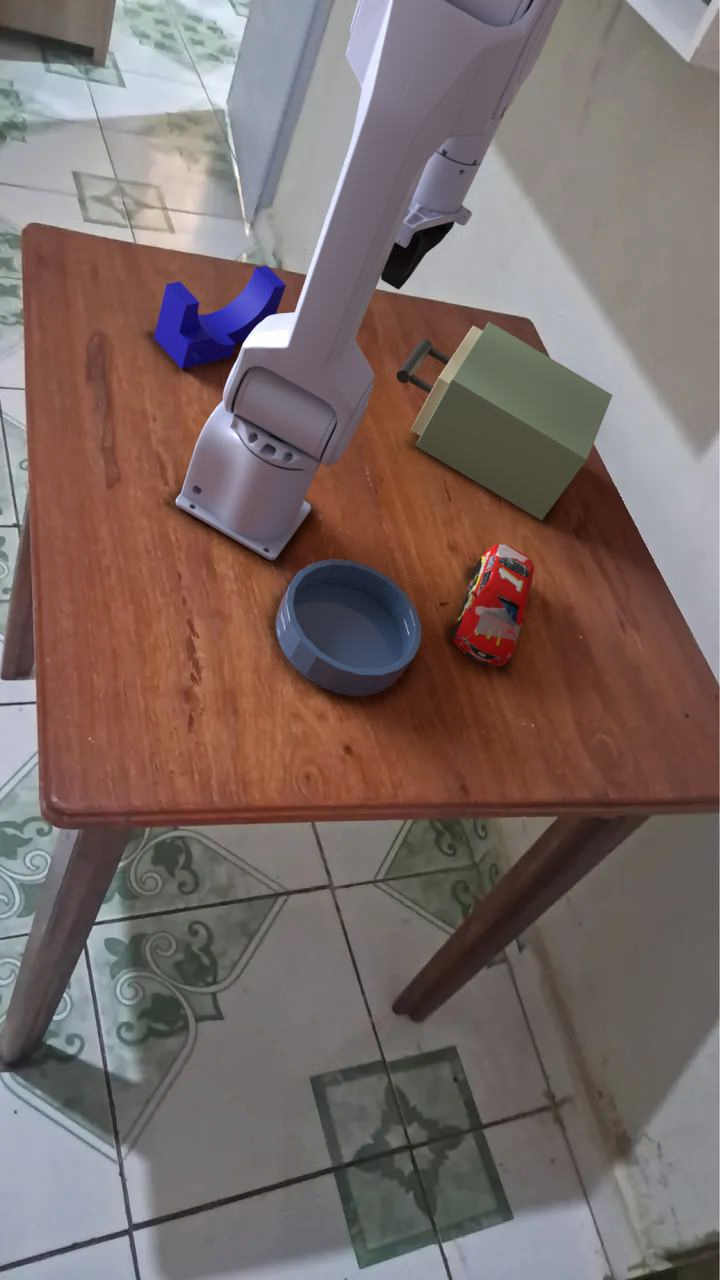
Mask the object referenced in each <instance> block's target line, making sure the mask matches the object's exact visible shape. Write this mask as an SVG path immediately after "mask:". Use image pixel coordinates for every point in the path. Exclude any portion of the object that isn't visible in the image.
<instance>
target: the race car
mask: <svg viewBox="0 0 720 1280" xmlns="http://www.w3.org/2000/svg"><path fill="white" fill-rule="evenodd" d="M534 571H535V566H534V563H533V561H532V560H531V558H530V557H529V556H528V555H526V554H525V553H523V552H522V551H519V550H517V549H515V548H513V547H512V546H509V545H507V544H504V543H496V544H494V545H492V546H491V547H490V548H488V549H487V550H486V551H485V552H484V554H483V555H482V556H481V557H480V559H479V560H478V562H477V564H476V566H475V567H474V570H473V572H472V575H471V579H470V582H469V585H468V587H467V591H466V595H465V597H464V599H463V603H462V606H461V609H460V612H459V615H458V618H457V624H456V625H455V628H454V629H453V632H452V636H451V637H452V639H453V642H454V643H455V645H456V647H457V648H458V649H459V650H460V652H461V653H462V654H463V655H465V656H466V657H467V658H469V659H470V660H471V661H473V662H475V663H477V664H479V665H482V666H486V667H491V668H494V667H501V666H504V665H505V664H506V663H507V662H508V661H509V660H510V659H511V657H512V656H513V654H514V652H515V649H516V647H517V642H518V641H517V640H518V637H519V635H520V632H521V627H522V624H523V623H527V622H529V619H528V618H527V617H525V612H526V608H527V606H528V605H527V604H528V600H529V597H530V592H531V589H532V586H533V579H534Z"/></svg>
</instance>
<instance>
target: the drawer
mask: <svg viewBox="0 0 720 1280" xmlns="http://www.w3.org/2000/svg"><path fill="white" fill-rule="evenodd" d="M482 332H483V330H482V329H480V328H479V327H477V326H475V325H472V327H471V328H470V329H469V331H468V333H467V334H466V336H465V337H464V338H463V340H462V341H461V343H460V344H459V346H458V347H457V348H456V351H455V352H454V353H453V355H452V357H449V356H447V354H444V353H442V352H440V351H439V350H437V349H436V348H434V347H433V343H432V341H431V340H430V339H427V338H423V339H421V340H420V341H419V342H418V344H417V345H416V346H415V348H414V349H413V350H412V352H411V353H410V354H409V356H408V357H407V359H406V360H405V361H404V363H403V364H402V365H401V367H400V368H399V369H398V371H397V372H396V379H397V381H398V382H399V383H401V384H407V383H411V384H412V385H413V386H416V387H417V388H419V389H421V390H422V391H424V392H425V393H427V394H428V396H427V398H426V400H425V402H424V404H423V406H422V408H421V410H420V412H419V413H418V415H417V417H416V419H415V420H414V423H413V425H412V427H410V431H411V432H413V433H414V434H416V435H418V436H420V437H421V435H422V433H423V431H424V429H425V427H426V426H427V424H428V422H429V420H430V418H431V417H432V415H433V413H434V411H435V409H436V407H437V406H438V404H439V402H440V400H441V398H442V396H443V395H444V393H445V391H446V389H447V387H448V385H449V384H450V382H451V380H452V378H453V377H454V375H455V374H456V372H457V370H458V369H459V367H460V366H461V364H462V363H463V361H464V360H465V358H466V357H467V355H468V353H469V352H470V350H471V349H472V347H473V346H474V344H475V343H476V341H477V339H478V338H479V336H480V335H481V333H482ZM428 355H429V356H430V357H432V358H434V359H436V360H437V361H438V362H440V363H442V364H444V365H446V366H445V367H444V368H443V370H442V371H441V372H440V375H439V376H438V377H437V380H436V381H435V383H434V385H432V384H430V383H428V382H426V381H425V380H423V379H421V378H419V377H418V376H416V375H414V374H415V373H416V372H417V370H418V369H419V368H420V366H421V365H422V363H424V361H425V359H426V358H427V356H428Z"/></svg>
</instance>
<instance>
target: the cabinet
mask: <svg viewBox="0 0 720 1280" xmlns="http://www.w3.org/2000/svg"><path fill="white" fill-rule="evenodd" d="M482 331H483V332H482V333H481V335H480V336H479V338H478V339H477V341H476V343H475V344H474V346H473V347H472V349H471V350H470V352H469V353H468V355H467V357H466V358H465V360H464V361H463V363H462V364H461V366H460V367H459V369H458V370H457V372H456V374H455V375H454V377H453V378H452V380H451V382H450V384H449V385H448V387H447V389H446V391H445V393H444V395H443V396H442V398H441V400H440V402H439V404H438V406H437V407H436V409H435V411H434V413H433V415H432V417H431V418H430V420H429V422H428V424H427V426H426V427H425V429H424V431H423V433H422V435H421V436H420V437H418V441H417V442H416V443H415V447H416V448H417V449H420V450H421V451H423V452H425V453H426V454H428V455H430V456H432V457H433V458H435V459H437V460H438V461H439V462H441V463H443V464H444V465H447V466H448V467H450V468H452V469H453V470H455V471H457V472H459V473H460V474H461V475H463V476H465V477H467V478H469V479H470V480H471V481H473V482H475V483H477V484H479V485H480V486H482V487H484V488H486V489H487V490H489V491H491V493H492V492H493V494H496V495H498V496H499V497H501V498H503V499H504V500H506V501H508V502H509V503H511V504H513V505H514V506H515V507H518V508H520V509H521V510H523V511H524V512H526V513H528V514H530V515H531V516H533V517H534V518H536V519H539V520H540V521H543V520H544V519H545V517H546V516H547V514H548V513H549V512H550V510H551V509H552V508H553V507H554V505H555V504H556V502H557V501H558V500H559V498H560V497H561V496H562V494H563V493H564V491H566V489H567V487H568V486H569V485H570V483H572V481H573V479H574V478H575V476H577V474H578V473H579V471H580V470H581V468H582V467H583V466H584V465H585V464H586V462H587V461H588V458H589V456H590V453H591V451H592V448H593V445H594V443H595V441H596V438H597V436H598V434H599V430H600V428H601V426H602V424H603V421H604V418H605V415H606V412H607V410H608V408H609V405H610V403H611V400H612V398H613V394H611V393H610V392H608V391H606V390H605V389H603V388H602V387H600V386H599V385H596V384H595V383H593V382H592V381H590V380H588V379H587V378H585V377H584V376H581V375H579V374H578V373H577V372H575V371H573V370H572V369H570V368H568V367H566V366H565V365H563V364H562V363H560V362H558V361H556V360H555V359H553V358H551V357H550V356H548V355H546V354H544V353H543V352H541V351H539V350H538V349H536V348H534V347H533V346H531V345H529V344H528V343H526V342H524V341H523V340H521V339H520V338H517V337H516V336H515V335H512V334H511V333H509V332H507V331H506V330H505V329H502V328H501V327H500V326H497V325H495V324H494V323H492V322H491V321H488V322H487V324H486V326H485V327H484V329H483V330H482Z"/></svg>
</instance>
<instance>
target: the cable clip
mask: <svg viewBox="0 0 720 1280" xmlns="http://www.w3.org/2000/svg"><path fill="white" fill-rule="evenodd" d="M286 286H287V284H286V283H285V282H284V281H283V280H282V279H281V278H280V277H279V276H278V275H277V274H276V273H275V272H274V271H273V270H272V269H271V268H270V267H269V266H268V265H263V266H258V267H255V268H254V270H253V273H252V275H251V278H250V279H249V281H248V283H247V285H246V286H245V287H244V288H243V290H242V291H241V292H240V293H239V294H238V296H236V298H234V299H233V300H232V301H231V302H230V303H229V304H226V305H225V306H223V307H222V308H220V309H219V310H216V311H213V312H211V313H206V314H199V308H200V307H199V306H200V301H199V300H198V299H197V298H196V297H195V296H194V295H193V293H192V292H191V291H189V289H188V288H187V287H186V286H185V285H184V284H183V283H182V282H181V281H176V282H175V281H174V282H170V283H166V284H165V288H164V293H163V298H162V302H161V305H160V310H159V314H158V315H159V316H158V319H157V324H156V327H155V332H154V335H153V339H154V340H155V341H156V342H157V344H159V346H160V347H161V348H162V350H164V351H165V352H166V354H168V356H169V357H170V358H171V359H172V360H173V361H174V363H176V364H177V366H178V367H179V369H181V370H184V369H188V368H192V367H196V366H200V365H205V364H208V363H212V362H216V361H220V360H224V359H227V358H232V356H233V353H234V351H235V347H236V344H239V343H244V342H245V340H246V339H247V337H248V336H249V334H250V333H251V332H252V330H253V329H254V328H255V327H256V326H257V325H258V324H259V323H260V322H262V321H263V320H264V319H265V318H266V317H268V316H270V315H274V314H278V310H279V307H280V304H281V301H282V298H283V295H284V292H285V290H286Z"/></svg>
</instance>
